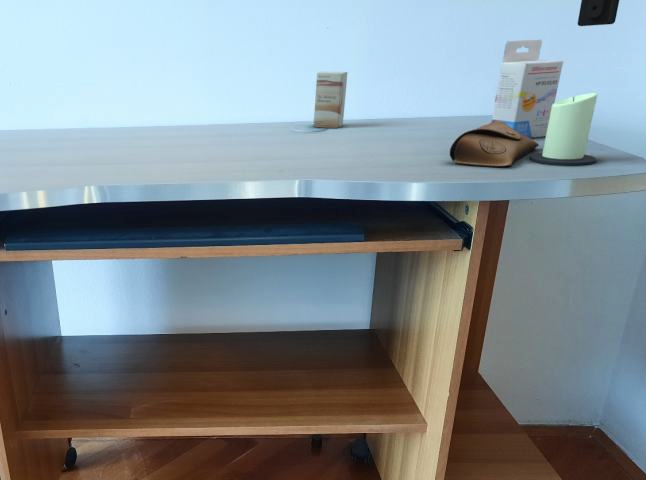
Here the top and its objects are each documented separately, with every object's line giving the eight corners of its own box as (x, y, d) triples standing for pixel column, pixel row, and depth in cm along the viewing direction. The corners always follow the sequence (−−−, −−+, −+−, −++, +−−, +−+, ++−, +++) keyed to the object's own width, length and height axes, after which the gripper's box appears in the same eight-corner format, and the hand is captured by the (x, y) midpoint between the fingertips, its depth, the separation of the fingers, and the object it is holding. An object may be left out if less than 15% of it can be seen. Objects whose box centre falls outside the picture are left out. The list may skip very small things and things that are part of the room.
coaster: (598, 157, 89) (599, 154, 89) (592, 167, 83) (593, 164, 83) (535, 153, 93) (535, 150, 93) (525, 163, 87) (525, 160, 87)
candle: (545, 159, 87) (558, 95, 83) (539, 153, 91) (551, 91, 87) (586, 160, 85) (602, 94, 82) (578, 154, 90) (592, 91, 86)
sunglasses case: (514, 164, 84) (494, 117, 83) (462, 187, 89) (443, 143, 88) (541, 144, 97) (523, 104, 96) (494, 166, 102) (477, 127, 101)
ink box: (512, 141, 104) (530, 40, 98) (487, 137, 108) (503, 41, 102) (549, 136, 107) (569, 38, 101) (524, 132, 111) (541, 39, 105)
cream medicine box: (312, 127, 127) (315, 72, 122) (318, 124, 130) (321, 71, 126) (338, 128, 125) (342, 72, 120) (344, 125, 128) (347, 70, 124)
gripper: (666, -165, 65) (627, 23, 72) (669, -135, 78) (635, 22, 85) (581, -149, 69) (552, 28, 76) (597, -123, 82) (571, 26, 89)
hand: (596, 25), depth 81 cm, fingers open, 9 cm apart
